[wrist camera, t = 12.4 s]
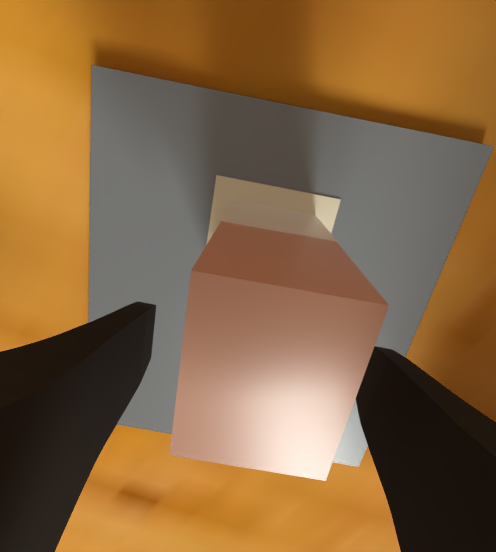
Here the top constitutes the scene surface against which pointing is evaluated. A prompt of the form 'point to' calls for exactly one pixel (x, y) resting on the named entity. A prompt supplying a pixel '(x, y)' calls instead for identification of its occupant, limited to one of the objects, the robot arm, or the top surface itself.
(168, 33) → the top surface
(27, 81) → the top surface
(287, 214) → the white brick
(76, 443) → the robot arm
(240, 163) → the baseplate
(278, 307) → the terracotta brick
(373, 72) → the top surface
